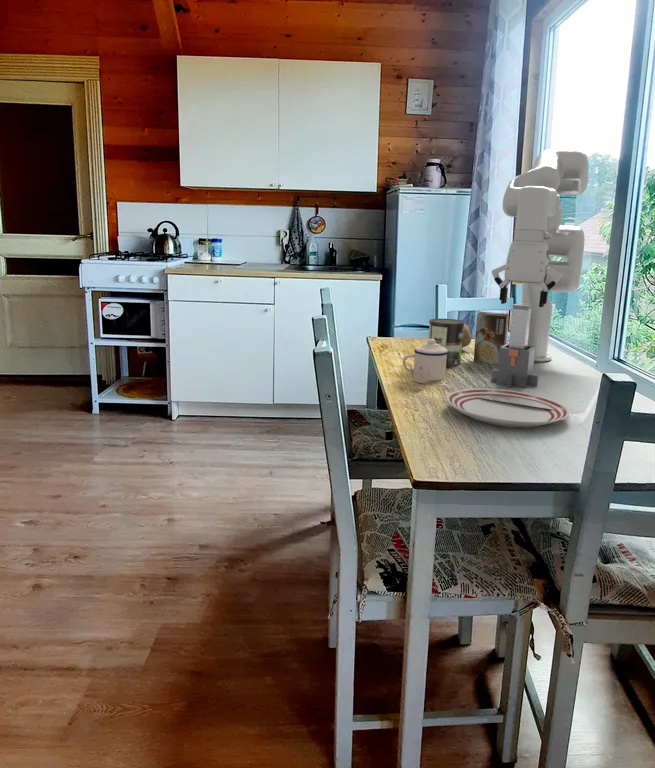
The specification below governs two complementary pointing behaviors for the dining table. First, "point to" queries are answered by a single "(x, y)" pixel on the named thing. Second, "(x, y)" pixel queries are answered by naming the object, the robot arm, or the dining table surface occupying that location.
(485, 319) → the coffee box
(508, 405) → the dinner plate
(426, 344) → the teacup with lid
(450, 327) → the coffee can
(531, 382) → the stand base
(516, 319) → the column
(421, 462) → the dining table surface
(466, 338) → the natural sponge
